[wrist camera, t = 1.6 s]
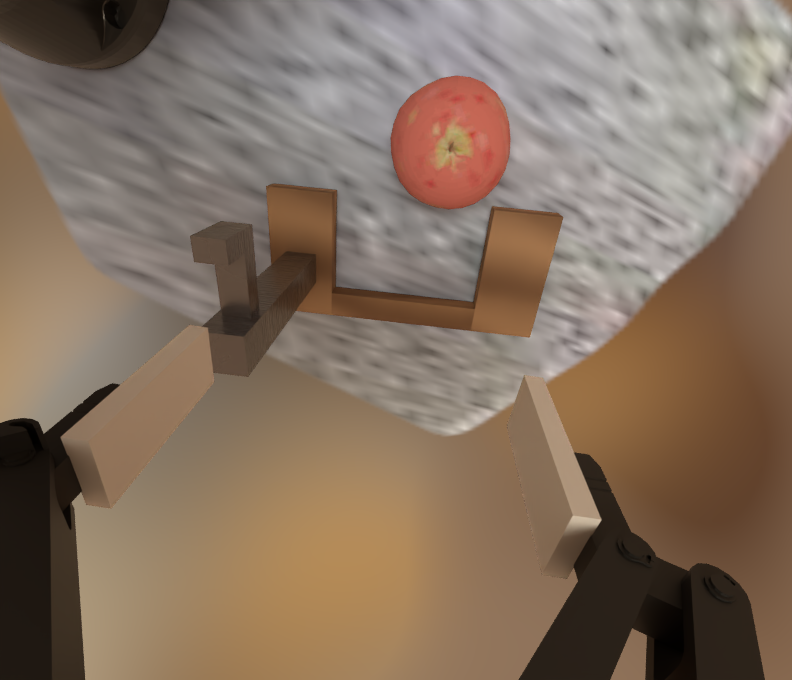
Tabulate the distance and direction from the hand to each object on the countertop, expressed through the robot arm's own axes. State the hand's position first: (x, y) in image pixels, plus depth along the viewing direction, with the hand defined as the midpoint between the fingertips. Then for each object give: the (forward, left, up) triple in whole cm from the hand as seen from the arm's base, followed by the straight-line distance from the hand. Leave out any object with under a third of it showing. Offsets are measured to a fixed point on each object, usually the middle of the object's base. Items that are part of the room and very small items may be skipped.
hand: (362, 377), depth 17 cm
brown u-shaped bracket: (+1, +1, -19) cm, 19 cm away
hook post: (-1, -8, -17) cm, 19 cm away
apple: (-8, +3, -19) cm, 21 cm away
